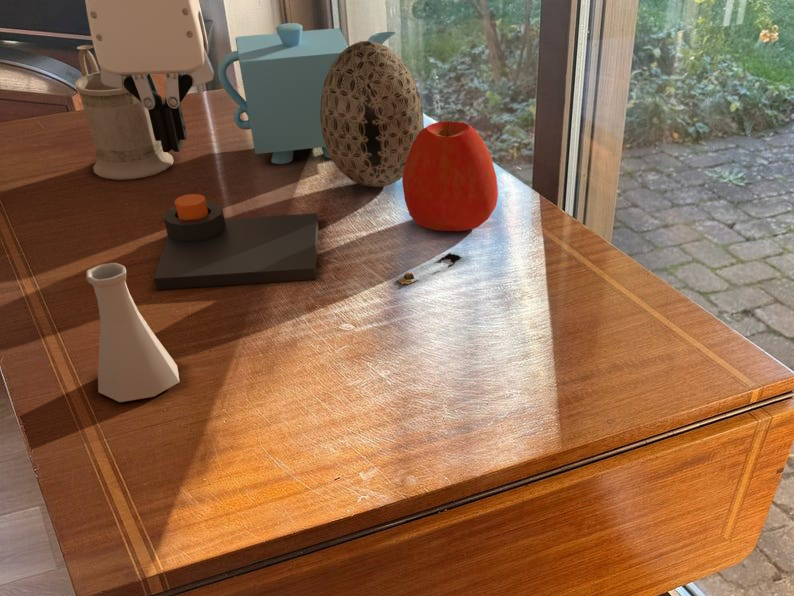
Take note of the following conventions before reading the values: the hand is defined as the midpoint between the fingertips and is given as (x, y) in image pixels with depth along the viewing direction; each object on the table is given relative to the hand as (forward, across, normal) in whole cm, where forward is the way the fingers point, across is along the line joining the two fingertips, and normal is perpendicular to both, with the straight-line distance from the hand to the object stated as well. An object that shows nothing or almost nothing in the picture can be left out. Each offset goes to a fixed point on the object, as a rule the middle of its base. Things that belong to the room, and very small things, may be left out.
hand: (173, 147), depth 100 cm
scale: (+10, -6, +4) cm, 12 cm away
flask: (+10, +2, +29) cm, 31 cm away
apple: (+10, -28, -1) cm, 30 cm away
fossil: (+10, -25, +11) cm, 29 cm away
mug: (+10, +12, -27) cm, 31 cm away
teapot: (+10, -13, -28) cm, 32 cm away
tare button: (+7, 0, 0) cm, 7 cm away
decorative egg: (+10, -20, -14) cm, 26 cm away
